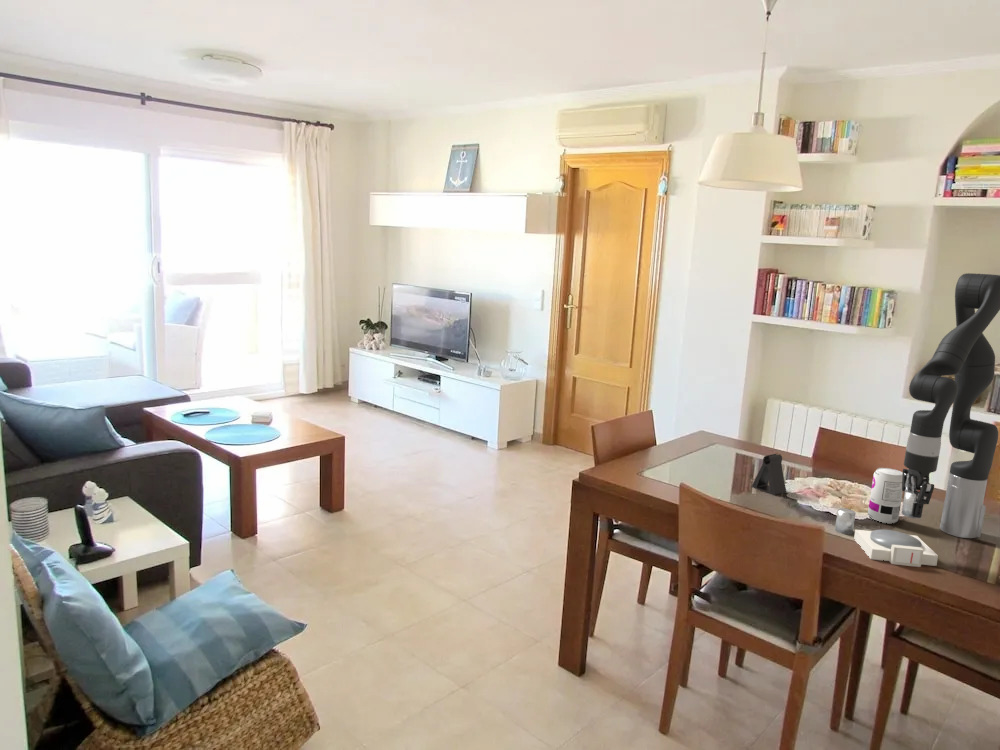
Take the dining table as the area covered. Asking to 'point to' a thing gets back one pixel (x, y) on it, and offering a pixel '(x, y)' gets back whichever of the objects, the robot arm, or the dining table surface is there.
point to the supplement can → (886, 495)
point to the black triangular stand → (770, 475)
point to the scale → (895, 547)
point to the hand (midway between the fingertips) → (912, 513)
